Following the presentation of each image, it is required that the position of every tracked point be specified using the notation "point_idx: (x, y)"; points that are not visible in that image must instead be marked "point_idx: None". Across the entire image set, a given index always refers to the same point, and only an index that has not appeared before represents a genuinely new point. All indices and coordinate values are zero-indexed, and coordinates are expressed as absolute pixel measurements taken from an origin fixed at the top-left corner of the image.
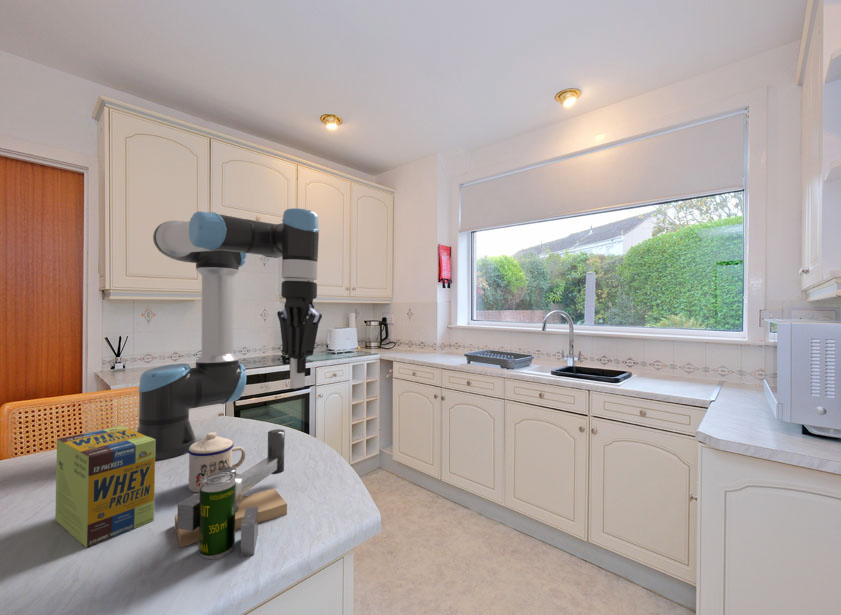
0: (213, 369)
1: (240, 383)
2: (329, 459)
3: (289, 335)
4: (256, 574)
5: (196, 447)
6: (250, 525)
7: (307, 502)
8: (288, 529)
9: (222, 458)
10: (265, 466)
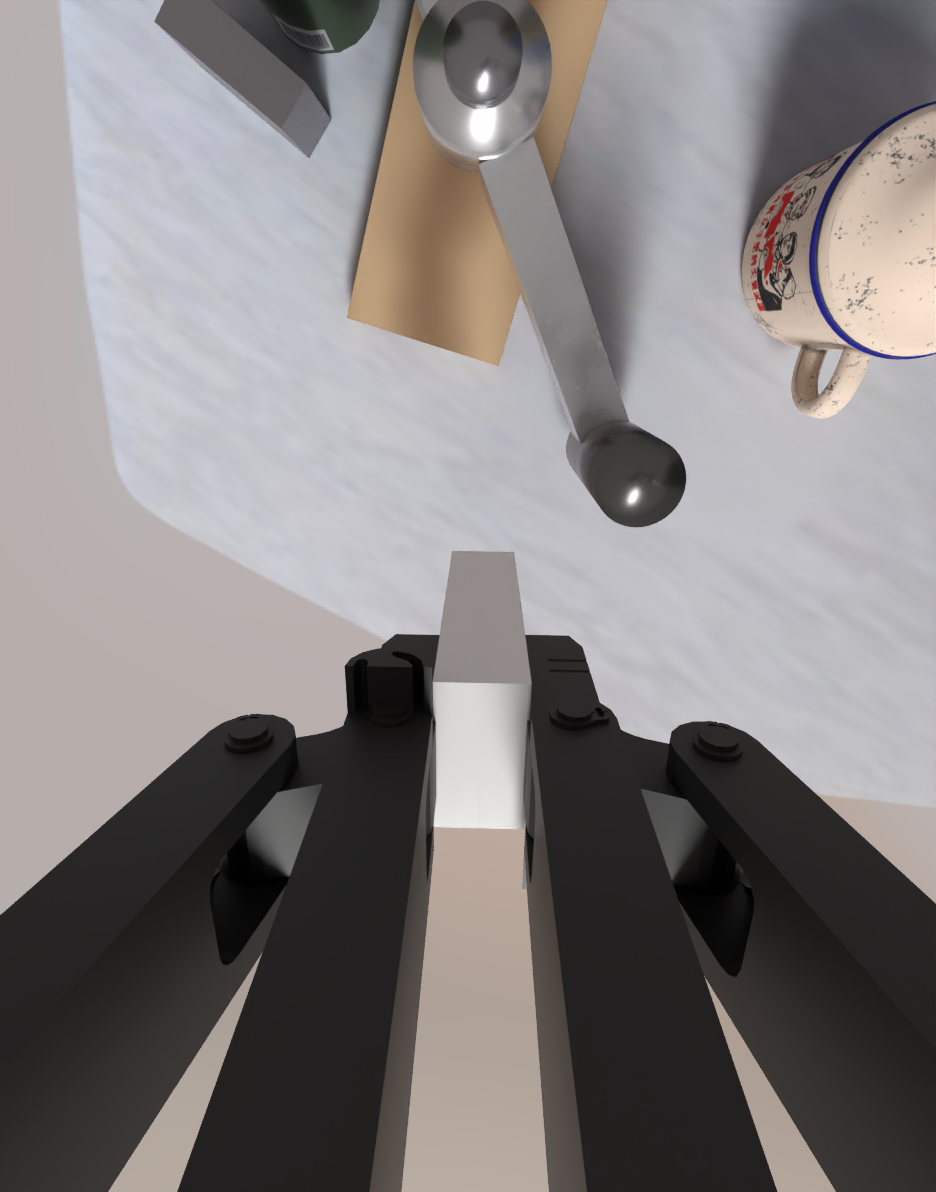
0: None
1: None
2: None
3: (664, 995)
4: (96, 6)
5: None
6: (162, 7)
7: (368, 421)
8: (258, 255)
9: (799, 252)
10: (546, 350)
